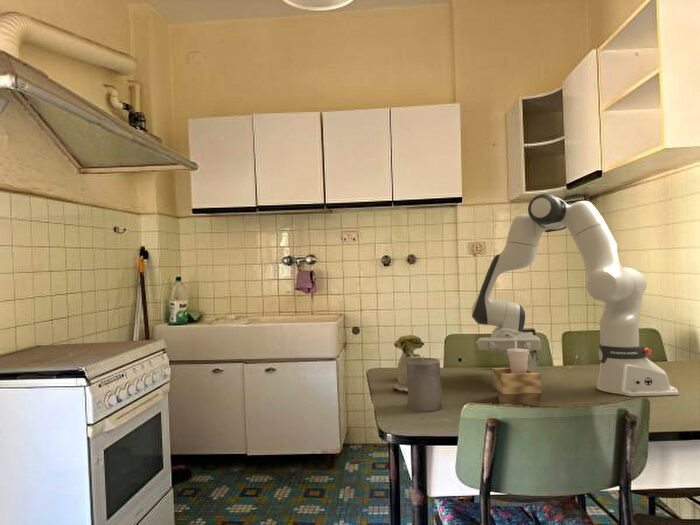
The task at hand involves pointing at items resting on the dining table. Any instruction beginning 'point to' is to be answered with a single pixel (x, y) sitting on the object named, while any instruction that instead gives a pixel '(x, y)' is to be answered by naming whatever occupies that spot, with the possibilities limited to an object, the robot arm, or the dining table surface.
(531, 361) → the coffee box
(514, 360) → the smoothie
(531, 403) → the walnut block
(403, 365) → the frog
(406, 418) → the dining table surface
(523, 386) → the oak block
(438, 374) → the pillar candle
